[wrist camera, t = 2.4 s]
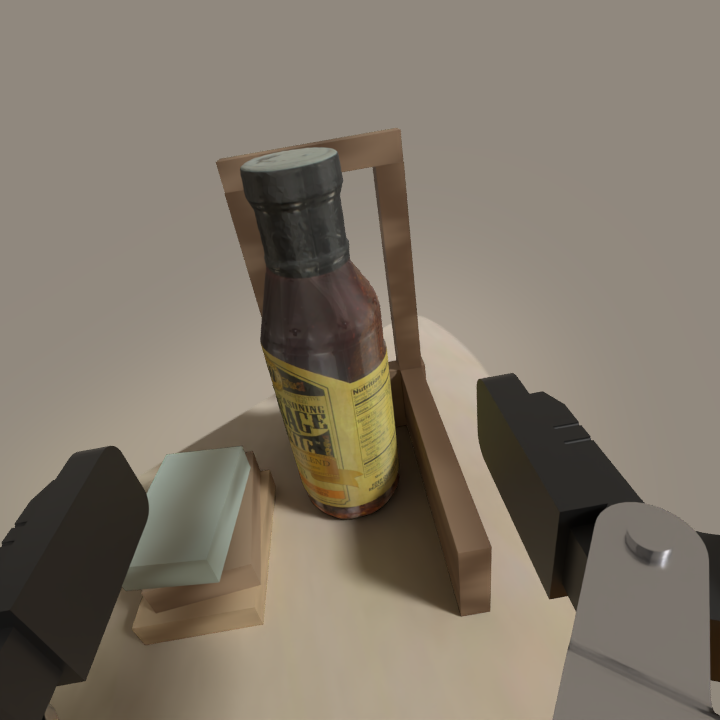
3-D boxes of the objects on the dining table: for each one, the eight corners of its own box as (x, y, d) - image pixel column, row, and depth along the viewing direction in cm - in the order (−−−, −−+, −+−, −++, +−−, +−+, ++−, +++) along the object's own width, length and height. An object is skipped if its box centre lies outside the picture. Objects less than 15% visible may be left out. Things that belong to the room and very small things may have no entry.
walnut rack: (294, 646, 21) (109, 248, 11) (300, 431, 34) (220, 158, 24) (496, 610, 21) (511, 177, 11) (425, 409, 34) (400, 126, 24)
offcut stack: (146, 647, 22) (96, 586, 19) (188, 503, 30) (157, 444, 27) (268, 625, 22) (236, 562, 19) (279, 487, 30) (258, 427, 27)
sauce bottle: (292, 478, 30) (188, 166, 19) (370, 438, 32) (315, 137, 22) (336, 549, 25) (229, 180, 14) (425, 495, 27) (389, 141, 17)
